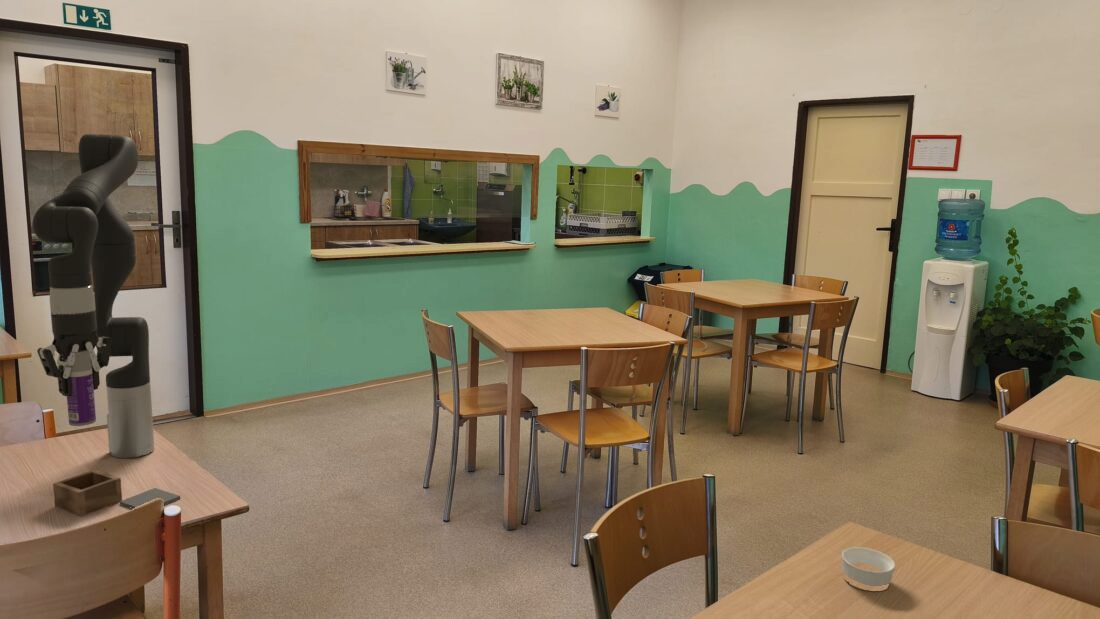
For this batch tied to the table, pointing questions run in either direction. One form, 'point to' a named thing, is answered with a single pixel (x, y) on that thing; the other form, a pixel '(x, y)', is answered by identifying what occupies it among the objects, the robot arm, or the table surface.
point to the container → (81, 391)
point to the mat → (149, 498)
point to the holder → (87, 492)
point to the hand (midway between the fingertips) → (80, 391)
